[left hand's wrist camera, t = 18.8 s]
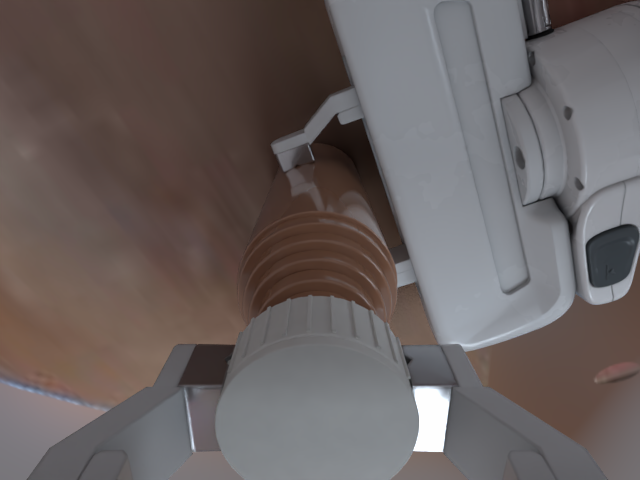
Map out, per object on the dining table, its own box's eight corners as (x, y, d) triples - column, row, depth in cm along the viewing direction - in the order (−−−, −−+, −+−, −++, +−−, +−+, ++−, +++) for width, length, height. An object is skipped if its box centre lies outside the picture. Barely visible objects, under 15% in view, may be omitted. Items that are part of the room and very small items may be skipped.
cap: (395, 438, 11) (409, 508, 10) (233, 433, 11) (216, 503, 10) (415, 295, 10) (436, 346, 8) (226, 289, 10) (205, 338, 8)
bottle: (258, 174, 28) (135, 384, 9) (329, 125, 26) (356, 249, 8) (306, 240, 29) (287, 532, 11) (375, 196, 28) (487, 436, 10)
